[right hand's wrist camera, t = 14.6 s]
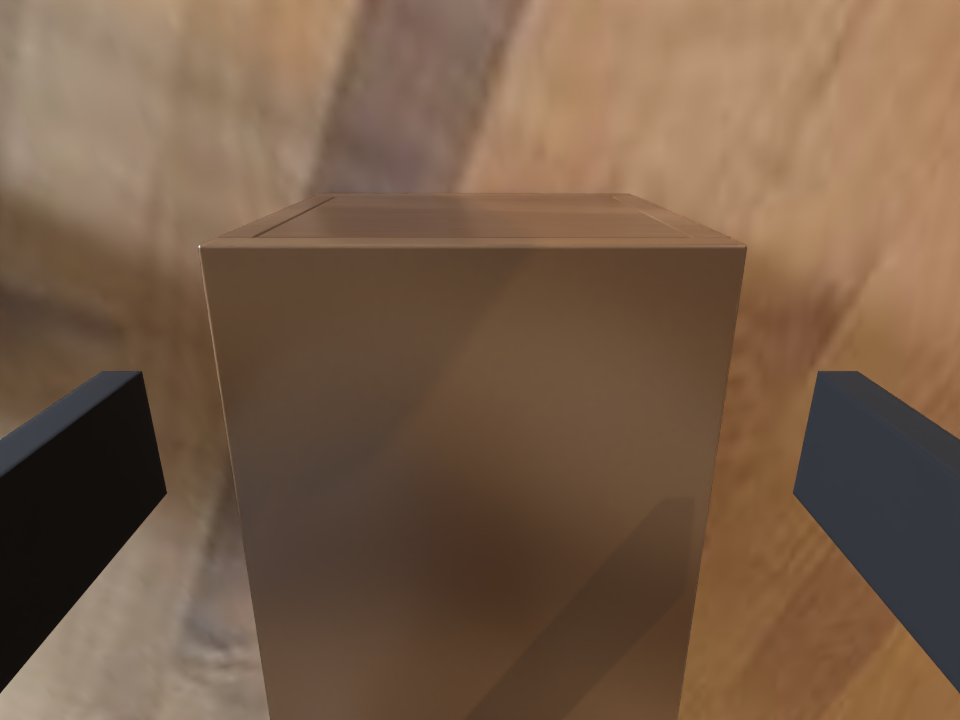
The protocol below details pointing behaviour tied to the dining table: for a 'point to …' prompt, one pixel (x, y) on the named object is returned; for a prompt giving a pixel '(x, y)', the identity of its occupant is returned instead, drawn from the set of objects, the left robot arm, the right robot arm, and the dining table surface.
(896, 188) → the dining table surface
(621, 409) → the cabinet
